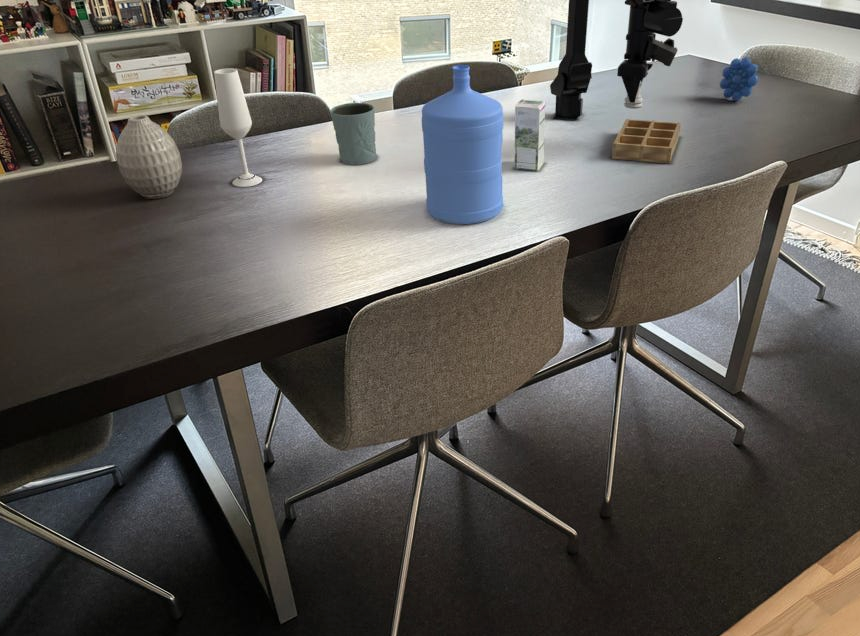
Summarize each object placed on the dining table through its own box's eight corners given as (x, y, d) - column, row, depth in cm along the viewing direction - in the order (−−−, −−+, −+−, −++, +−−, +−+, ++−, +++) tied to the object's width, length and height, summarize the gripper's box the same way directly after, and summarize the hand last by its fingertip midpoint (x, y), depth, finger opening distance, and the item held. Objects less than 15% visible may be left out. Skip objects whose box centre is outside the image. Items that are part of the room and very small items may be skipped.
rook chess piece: (644, 108, 176) (648, 73, 172) (625, 109, 177) (628, 73, 172) (640, 103, 180) (644, 68, 176) (622, 103, 180) (625, 69, 176)
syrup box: (544, 163, 175) (546, 99, 167) (537, 171, 170) (539, 107, 162) (520, 161, 176) (521, 98, 168) (513, 169, 172) (514, 105, 164)
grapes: (762, 102, 211) (771, 57, 204) (747, 107, 207) (755, 61, 201) (727, 94, 219) (734, 50, 212) (712, 98, 215) (719, 54, 208)
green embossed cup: (387, 158, 180) (383, 107, 174) (355, 169, 174) (349, 117, 168) (360, 149, 186) (354, 100, 180) (327, 160, 180) (321, 109, 174)
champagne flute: (252, 173, 174) (231, 65, 160) (268, 180, 170) (248, 70, 156) (226, 181, 170) (203, 71, 157) (242, 189, 166) (219, 76, 153)
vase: (131, 209, 158) (108, 130, 149) (124, 190, 167) (101, 114, 158) (193, 197, 163) (175, 120, 153) (183, 179, 172) (164, 105, 163)
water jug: (478, 232, 144) (475, 81, 129) (411, 216, 152) (401, 72, 136) (516, 204, 155) (519, 62, 139) (453, 190, 162) (448, 54, 146)
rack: (611, 158, 176) (612, 143, 174) (625, 133, 192) (626, 118, 190) (669, 163, 172) (671, 148, 170) (678, 137, 188) (680, 122, 186)
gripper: (672, 39, 159) (663, 113, 168) (682, 22, 174) (673, 91, 182) (620, 36, 162) (613, 109, 171) (633, 20, 177) (627, 88, 186)
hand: (633, 99), depth 177 cm, fingers closed on rook chess piece, 4 cm apart
